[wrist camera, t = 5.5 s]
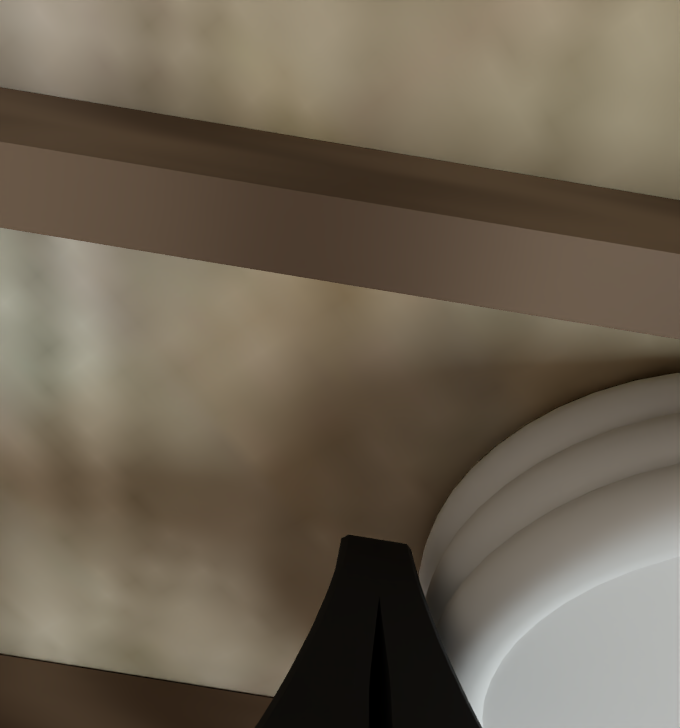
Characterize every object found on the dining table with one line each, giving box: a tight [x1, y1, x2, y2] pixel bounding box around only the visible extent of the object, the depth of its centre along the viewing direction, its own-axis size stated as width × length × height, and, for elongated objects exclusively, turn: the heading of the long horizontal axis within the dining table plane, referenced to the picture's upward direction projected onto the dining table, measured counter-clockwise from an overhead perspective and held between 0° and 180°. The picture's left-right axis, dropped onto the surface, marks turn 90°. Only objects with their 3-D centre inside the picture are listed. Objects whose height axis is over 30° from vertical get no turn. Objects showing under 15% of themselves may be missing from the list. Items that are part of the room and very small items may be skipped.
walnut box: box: [0, 88, 680, 728], centre depth 12 cm, size 20×15×3 cm
